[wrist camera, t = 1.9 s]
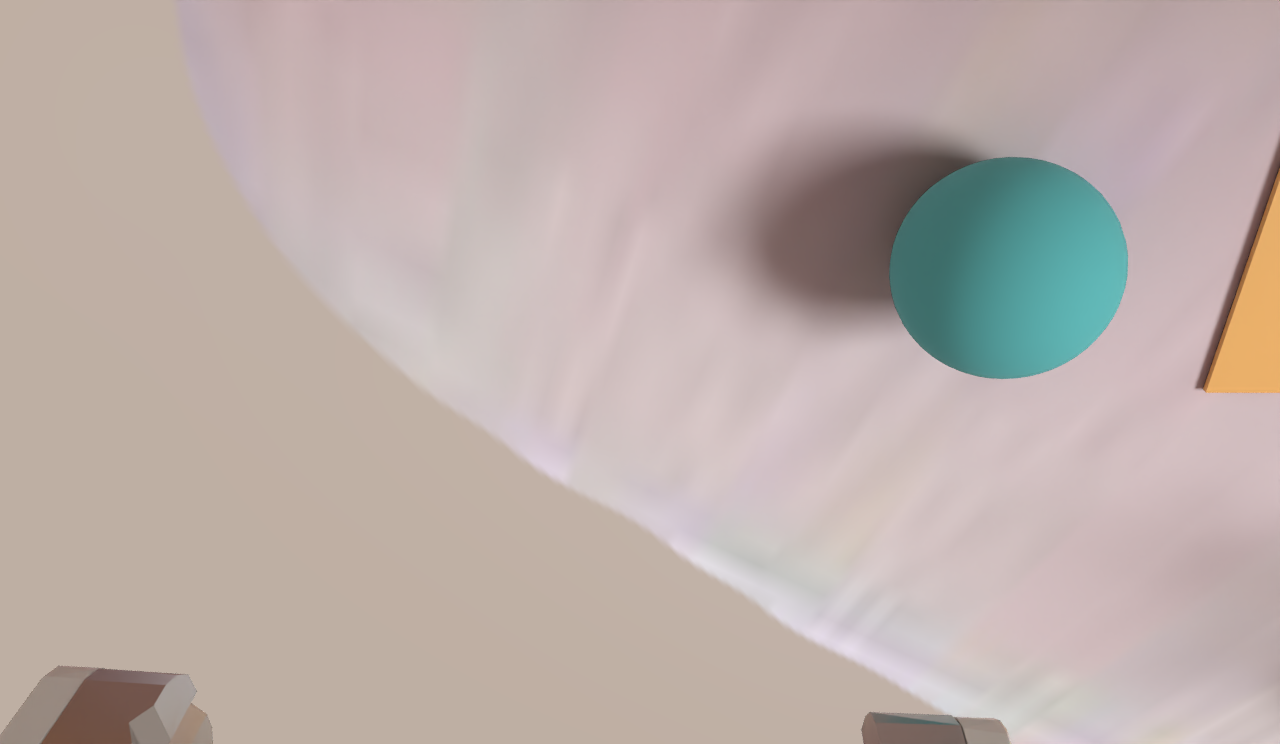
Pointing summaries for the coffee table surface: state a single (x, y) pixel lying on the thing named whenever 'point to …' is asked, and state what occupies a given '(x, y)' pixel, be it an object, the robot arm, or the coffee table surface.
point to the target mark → (1253, 317)
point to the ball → (1008, 267)
